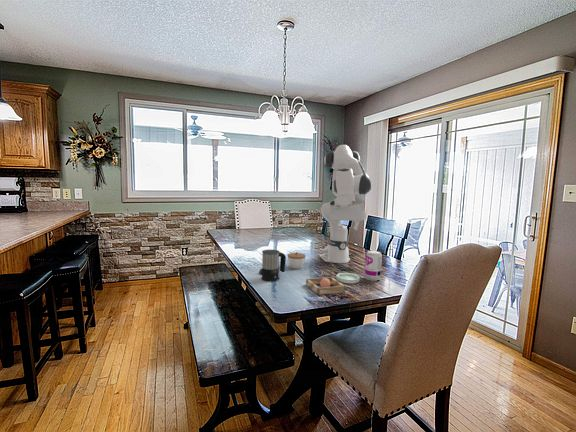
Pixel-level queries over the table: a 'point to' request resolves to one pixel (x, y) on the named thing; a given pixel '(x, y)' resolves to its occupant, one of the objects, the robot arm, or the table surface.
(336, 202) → the robot arm
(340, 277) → the saucer
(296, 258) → the lidded jar
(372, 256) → the soda can
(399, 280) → the table surface
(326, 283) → the ball
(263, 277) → the milk frother
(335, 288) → the wooden square frame
